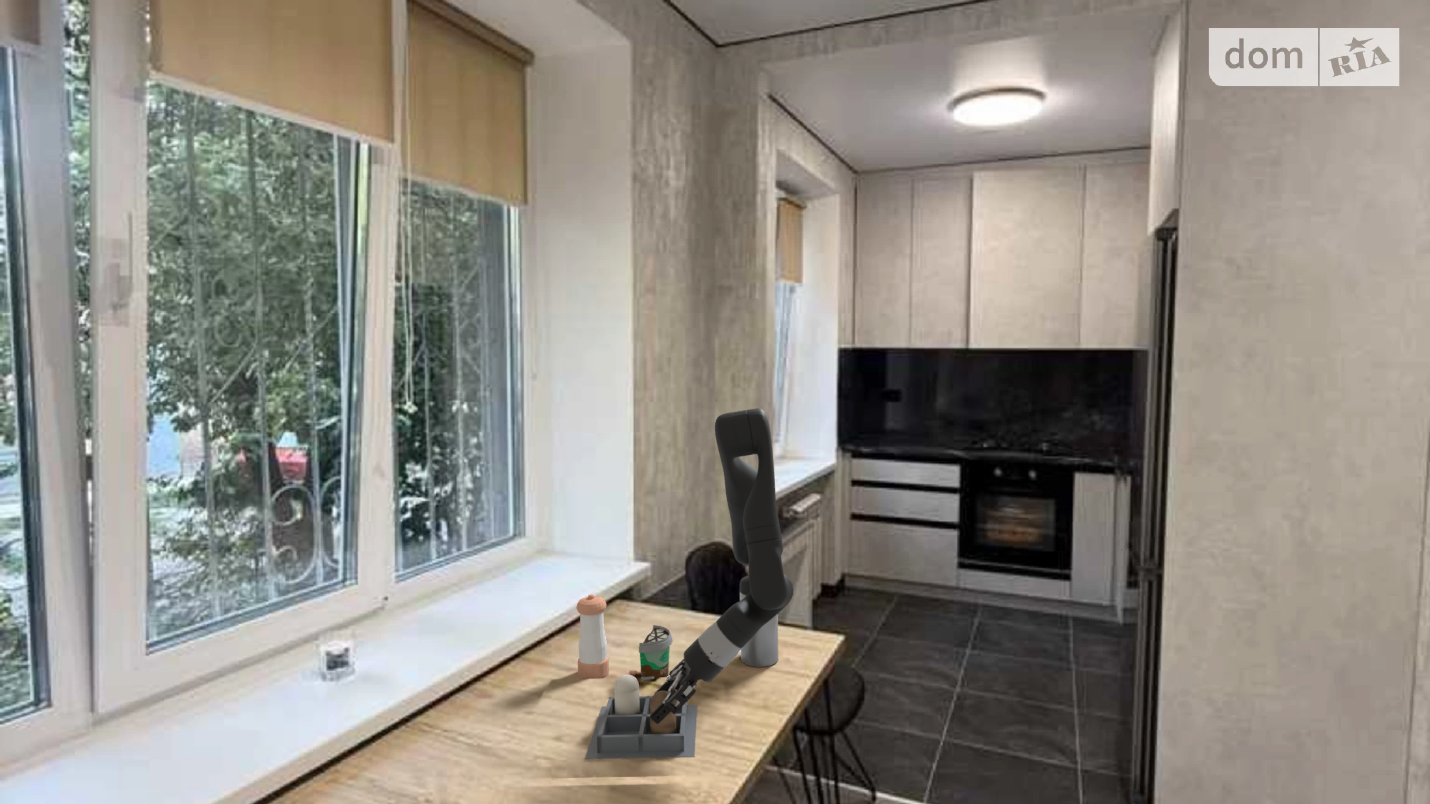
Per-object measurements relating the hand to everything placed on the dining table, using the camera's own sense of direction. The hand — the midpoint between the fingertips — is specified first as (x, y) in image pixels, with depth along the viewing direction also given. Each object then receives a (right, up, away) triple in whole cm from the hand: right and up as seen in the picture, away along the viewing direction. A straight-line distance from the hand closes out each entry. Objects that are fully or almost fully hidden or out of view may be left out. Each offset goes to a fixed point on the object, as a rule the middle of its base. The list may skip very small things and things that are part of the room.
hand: (655, 709), depth 145 cm
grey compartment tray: (-2, -7, +4) cm, 9 cm away
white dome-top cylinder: (-6, -6, +8) cm, 12 cm away
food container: (-1, -5, +31) cm, 32 cm away
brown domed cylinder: (+2, -6, +1) cm, 6 cm away
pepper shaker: (-17, -5, +33) cm, 38 cm away
